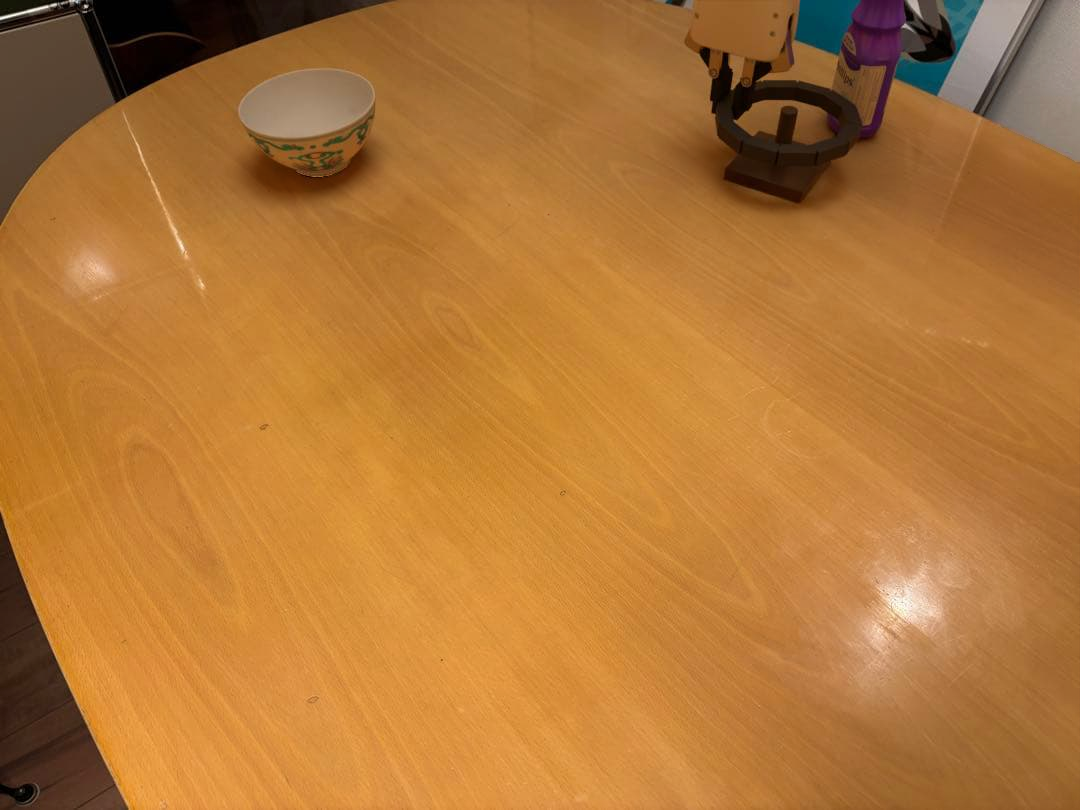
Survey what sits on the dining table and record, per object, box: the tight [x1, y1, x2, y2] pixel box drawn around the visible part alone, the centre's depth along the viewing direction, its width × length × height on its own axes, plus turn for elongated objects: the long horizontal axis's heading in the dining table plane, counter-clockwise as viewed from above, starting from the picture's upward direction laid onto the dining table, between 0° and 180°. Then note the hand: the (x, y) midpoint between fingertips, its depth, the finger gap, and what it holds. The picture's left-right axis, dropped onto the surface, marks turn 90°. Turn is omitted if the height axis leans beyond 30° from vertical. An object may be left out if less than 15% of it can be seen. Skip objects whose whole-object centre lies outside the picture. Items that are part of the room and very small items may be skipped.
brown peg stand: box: [723, 105, 832, 204], centre depth 95 cm, size 9×9×8 cm
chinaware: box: [237, 67, 376, 177], centre depth 99 cm, size 15×15×8 cm
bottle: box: [826, 0, 907, 139], centre depth 97 cm, size 7×6×17 cm
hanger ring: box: [714, 79, 862, 166], centre depth 93 cm, size 15×15×2 cm
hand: (729, 110), depth 96 cm, fingers closed on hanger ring, 1 cm apart
